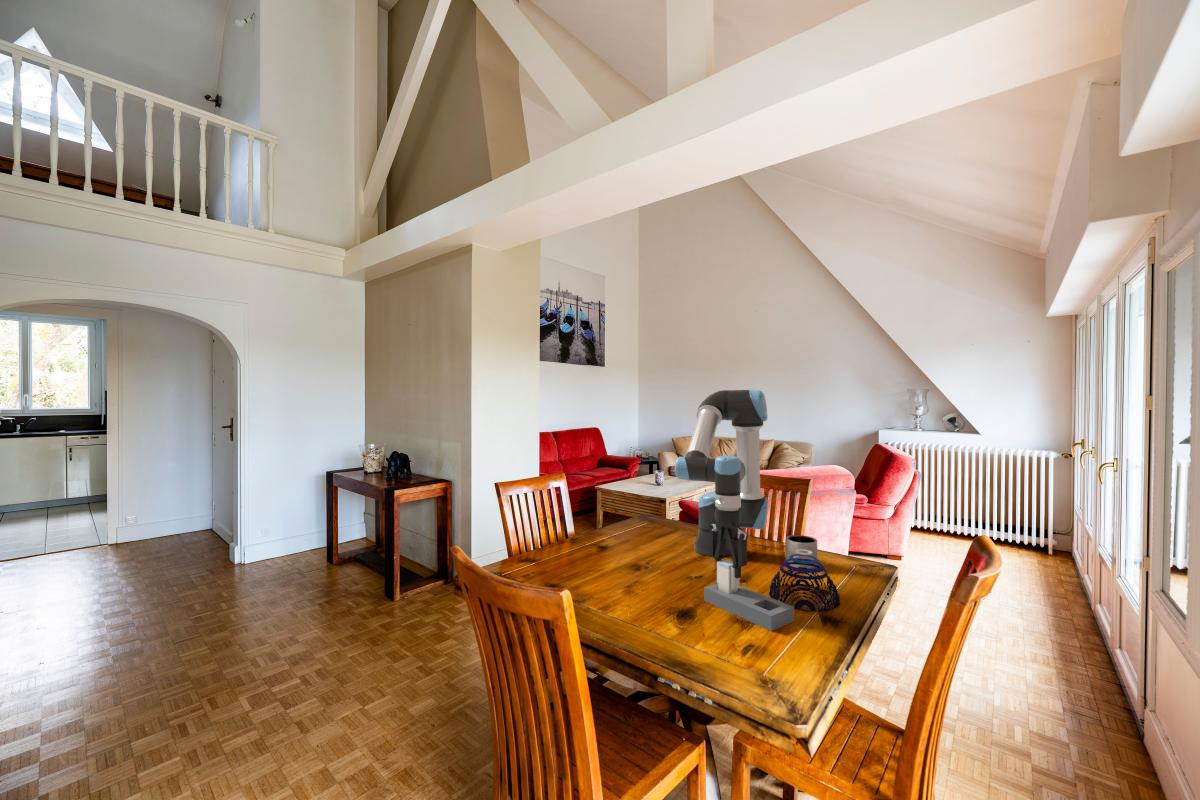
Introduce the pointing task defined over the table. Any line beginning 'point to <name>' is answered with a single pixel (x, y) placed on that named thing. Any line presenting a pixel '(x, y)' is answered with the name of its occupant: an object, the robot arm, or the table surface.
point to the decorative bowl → (797, 583)
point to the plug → (725, 576)
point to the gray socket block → (751, 606)
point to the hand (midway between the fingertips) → (728, 584)
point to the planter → (801, 543)
